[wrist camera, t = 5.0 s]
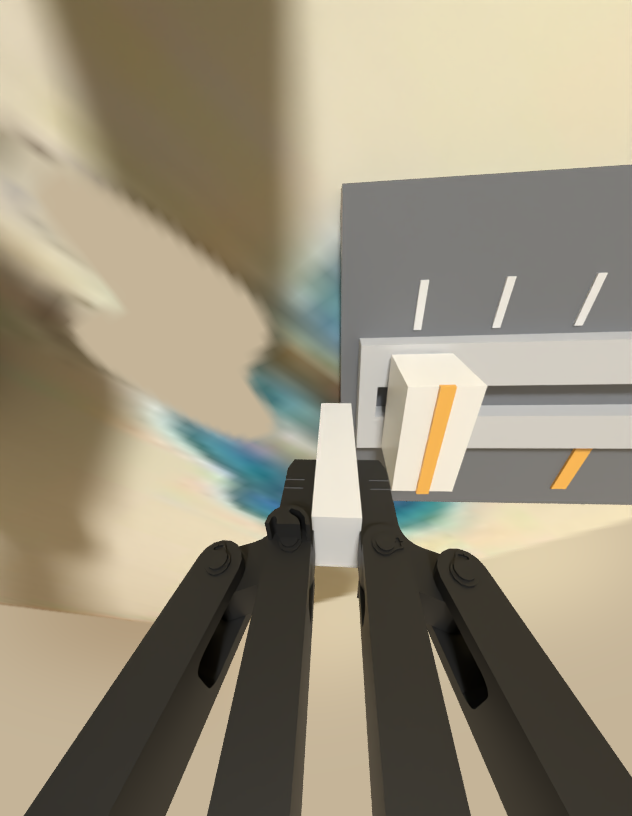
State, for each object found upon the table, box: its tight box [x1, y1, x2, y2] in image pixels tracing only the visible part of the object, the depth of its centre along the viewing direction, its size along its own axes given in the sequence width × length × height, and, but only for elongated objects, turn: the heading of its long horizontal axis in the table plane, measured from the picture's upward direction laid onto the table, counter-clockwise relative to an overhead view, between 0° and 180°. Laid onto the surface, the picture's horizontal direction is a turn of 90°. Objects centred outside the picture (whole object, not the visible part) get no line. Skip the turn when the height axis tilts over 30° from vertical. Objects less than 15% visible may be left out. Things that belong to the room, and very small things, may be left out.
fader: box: [381, 353, 487, 494], centre depth 14 cm, size 3×6×5 cm, turn 3°
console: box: [340, 165, 632, 505], centre depth 16 cm, size 24×20×3 cm
